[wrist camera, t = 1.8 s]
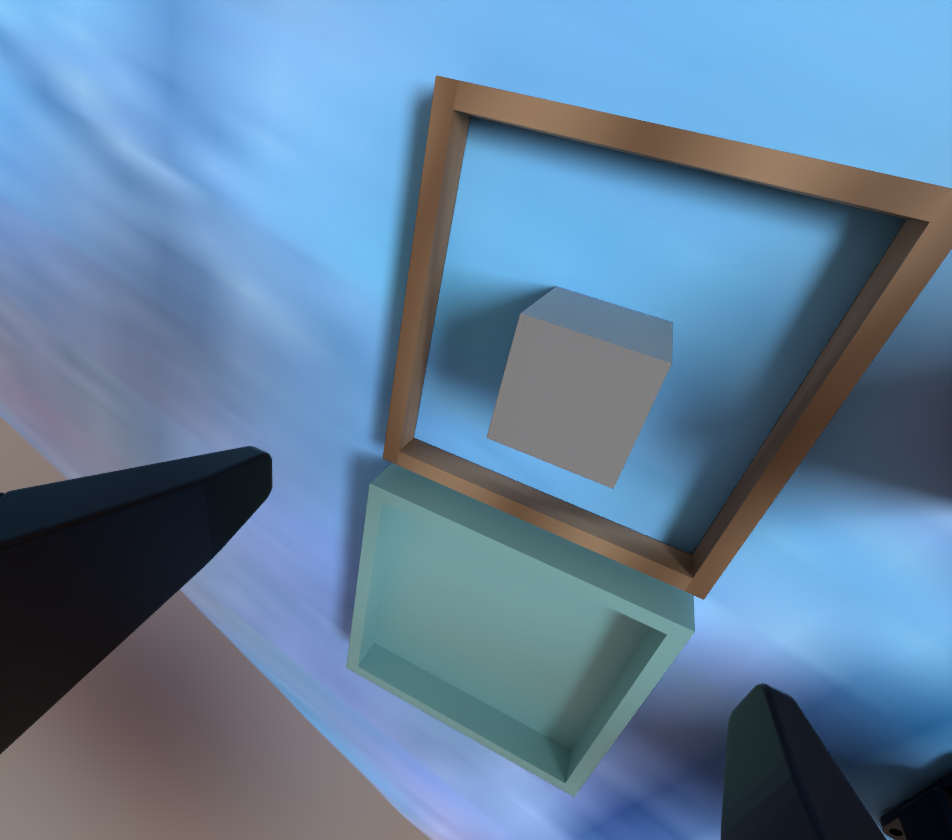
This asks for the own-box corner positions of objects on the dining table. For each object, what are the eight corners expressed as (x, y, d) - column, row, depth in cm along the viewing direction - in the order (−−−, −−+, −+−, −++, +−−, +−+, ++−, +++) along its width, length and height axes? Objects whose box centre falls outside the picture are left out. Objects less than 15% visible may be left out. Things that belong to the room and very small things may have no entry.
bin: (693, 588, 21) (694, 631, 19) (581, 753, 29) (574, 797, 27) (395, 458, 25) (369, 483, 22) (367, 637, 32) (346, 667, 30)
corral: (957, 196, 13) (988, 196, 12) (702, 575, 21) (703, 599, 19) (454, 84, 16) (435, 75, 15) (398, 444, 24) (382, 458, 23)
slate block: (673, 322, 17) (671, 363, 13) (627, 425, 19) (613, 488, 15) (557, 286, 18) (520, 313, 14) (526, 387, 20) (486, 437, 16)
